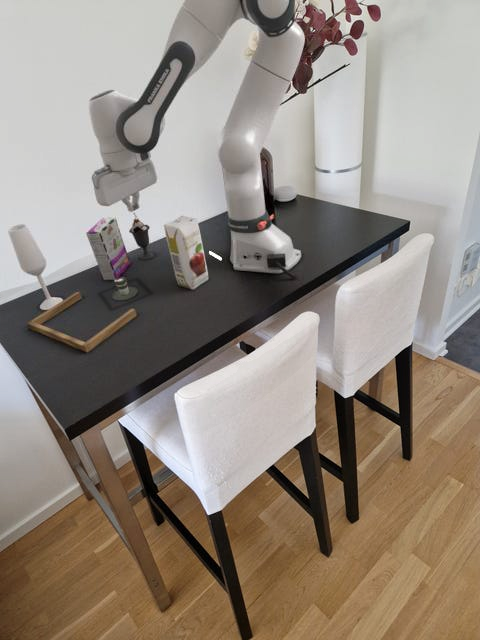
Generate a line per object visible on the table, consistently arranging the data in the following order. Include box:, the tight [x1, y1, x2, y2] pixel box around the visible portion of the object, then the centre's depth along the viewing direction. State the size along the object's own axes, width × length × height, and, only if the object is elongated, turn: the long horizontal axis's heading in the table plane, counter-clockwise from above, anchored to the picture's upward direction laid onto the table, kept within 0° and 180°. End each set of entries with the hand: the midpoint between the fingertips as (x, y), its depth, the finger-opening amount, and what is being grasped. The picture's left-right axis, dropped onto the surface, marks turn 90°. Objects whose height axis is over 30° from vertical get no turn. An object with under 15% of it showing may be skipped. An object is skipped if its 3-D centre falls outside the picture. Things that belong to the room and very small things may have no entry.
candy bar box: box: [86, 217, 131, 281], centre depth 134 cm, size 11×5×16 cm, turn 168°
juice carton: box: [163, 215, 209, 290], centre depth 121 cm, size 8×9×19 cm
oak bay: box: [26, 291, 138, 354], centre depth 115 cm, size 24×17×2 cm
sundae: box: [128, 212, 155, 261], centre depth 141 cm, size 7×7×15 cm
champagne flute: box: [7, 223, 64, 311], centre depth 120 cm, size 7×7×24 cm
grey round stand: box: [111, 276, 139, 302], centre depth 125 cm, size 12×12×5 cm
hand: (134, 209), depth 122 cm, fingers closed
